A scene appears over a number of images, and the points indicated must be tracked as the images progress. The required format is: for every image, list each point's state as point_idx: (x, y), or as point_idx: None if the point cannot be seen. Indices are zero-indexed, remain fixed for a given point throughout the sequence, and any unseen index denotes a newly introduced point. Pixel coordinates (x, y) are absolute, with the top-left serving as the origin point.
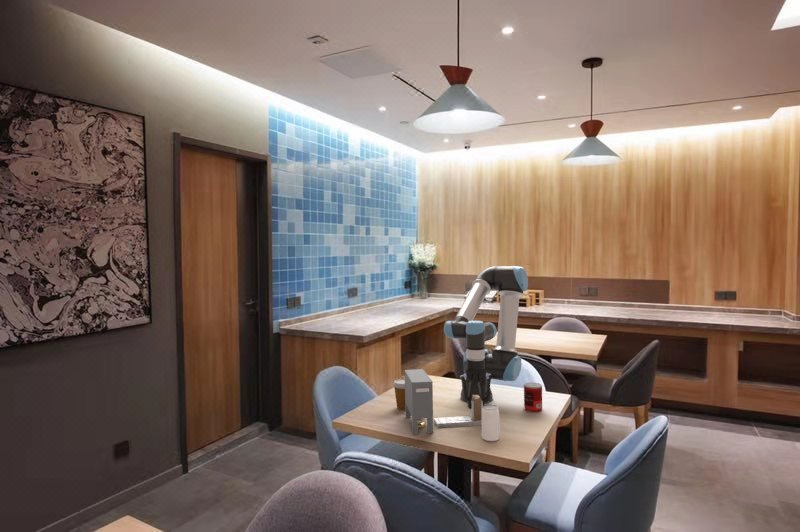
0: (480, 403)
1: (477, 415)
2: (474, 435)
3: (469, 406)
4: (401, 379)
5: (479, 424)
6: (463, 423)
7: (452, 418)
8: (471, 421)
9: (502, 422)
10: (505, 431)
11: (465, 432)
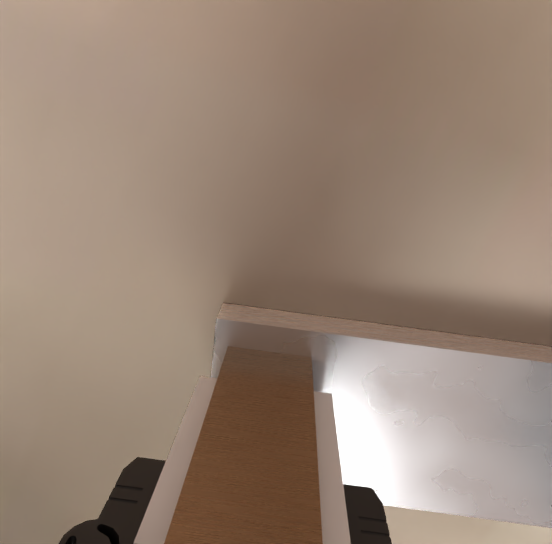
0: (196, 495)
1: (271, 382)
2: (474, 8)
3: (373, 517)
4: None
5: (266, 309)
6: (447, 343)
7: (506, 480)
8: (355, 342)
9: (7, 302)
10: (60, 27)
11: (523, 140)
